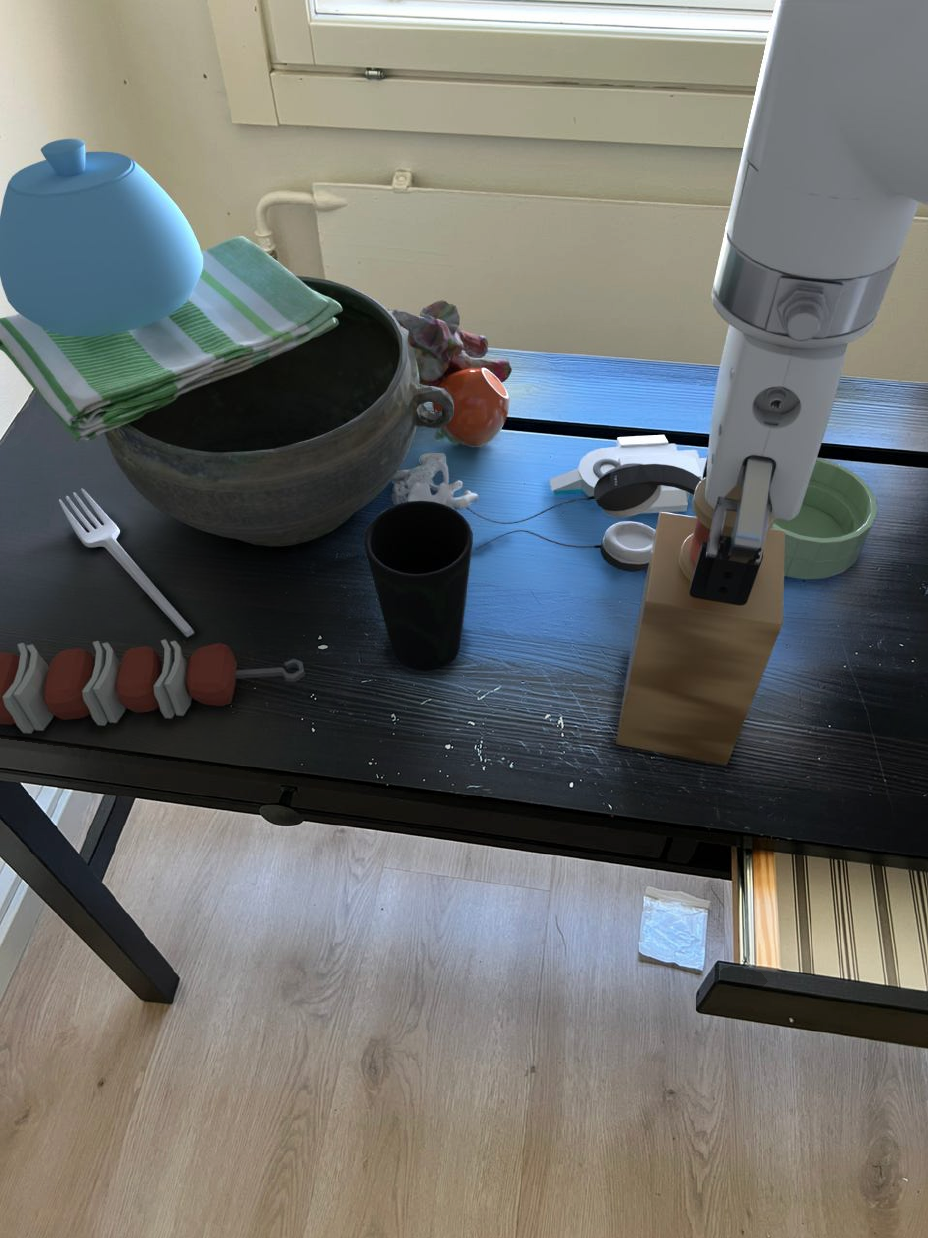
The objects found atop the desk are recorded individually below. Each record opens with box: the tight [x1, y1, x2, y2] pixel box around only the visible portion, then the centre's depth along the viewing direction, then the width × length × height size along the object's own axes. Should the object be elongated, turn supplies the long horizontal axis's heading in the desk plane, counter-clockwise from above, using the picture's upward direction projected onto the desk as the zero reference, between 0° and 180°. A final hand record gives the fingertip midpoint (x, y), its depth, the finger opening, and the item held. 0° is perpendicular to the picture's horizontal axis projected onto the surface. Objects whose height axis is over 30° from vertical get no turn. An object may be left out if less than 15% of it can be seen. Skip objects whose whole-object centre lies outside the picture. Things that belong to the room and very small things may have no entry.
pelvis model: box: [390, 452, 479, 511], centre depth 83 cm, size 8×4×7 cm
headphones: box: [466, 463, 702, 573], centre depth 76 cm, size 10×4×20 cm
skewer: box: [0, 639, 305, 735], centre depth 69 cm, size 5×5×30 cm
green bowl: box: [770, 457, 878, 580], centre depth 79 cm, size 11×11×5 cm
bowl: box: [103, 275, 454, 547], centre depth 79 cm, size 32×26×15 cm
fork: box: [58, 487, 195, 638], centre depth 79 cm, size 3×20×2 cm, turn 42°
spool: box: [679, 477, 776, 581], centre depth 55 cm, size 5×5×6 cm
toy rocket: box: [549, 434, 707, 515], centre depth 84 cm, size 16×10×2 cm, turn 95°
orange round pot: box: [431, 368, 510, 448], centre depth 88 cm, size 7×7×8 cm
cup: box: [363, 501, 474, 672], centre depth 69 cm, size 8×8×12 cm
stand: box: [615, 512, 785, 766], centre depth 63 cm, size 8×8×16 cm
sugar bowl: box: [0, 138, 203, 337], centre depth 69 cm, size 15×15×12 cm
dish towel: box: [0, 235, 343, 442], centre depth 74 cm, size 18×23×3 cm
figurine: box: [386, 299, 513, 387], centre depth 88 cm, size 8×12×15 cm
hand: (722, 538), depth 55 cm, fingers open, 9 cm apart
